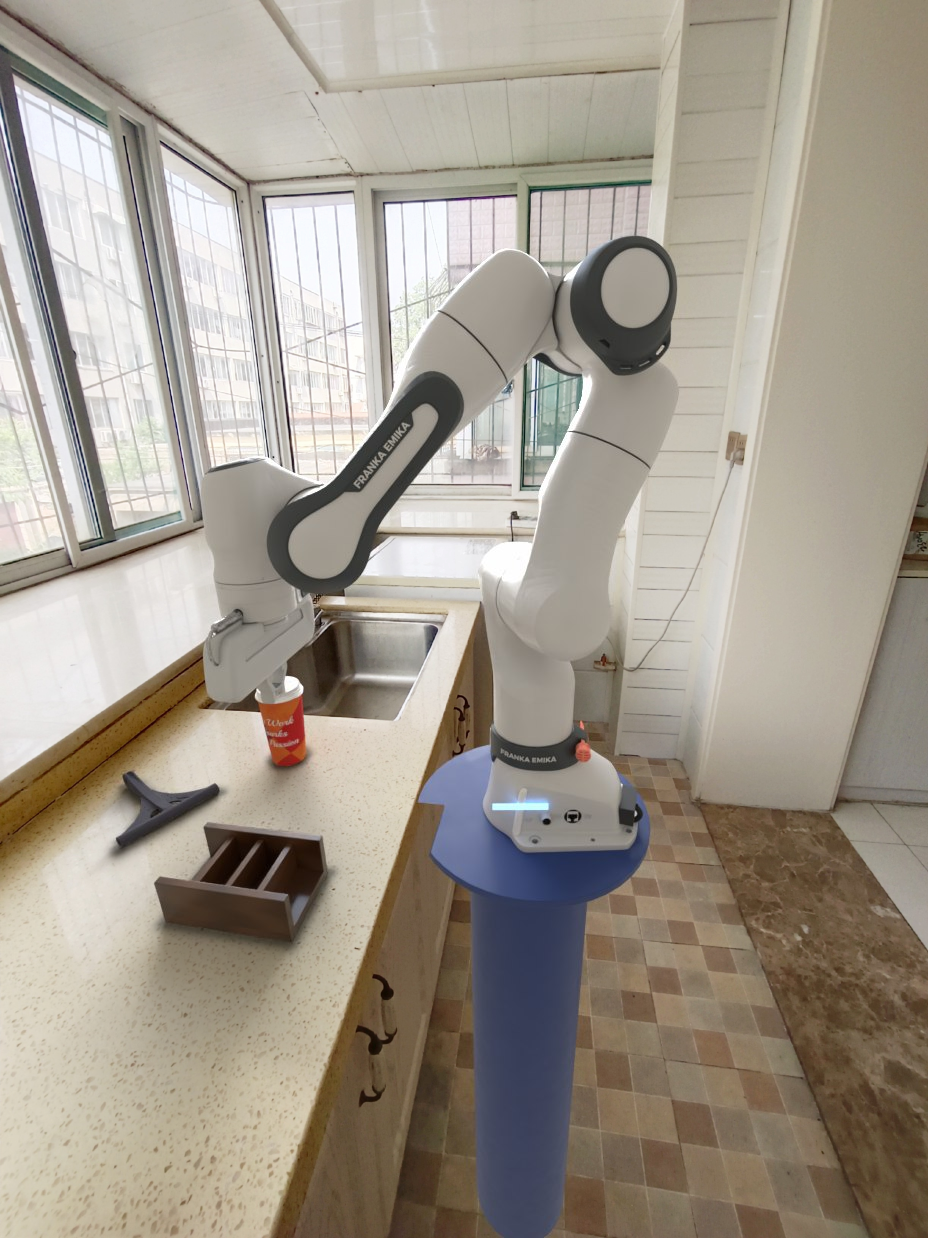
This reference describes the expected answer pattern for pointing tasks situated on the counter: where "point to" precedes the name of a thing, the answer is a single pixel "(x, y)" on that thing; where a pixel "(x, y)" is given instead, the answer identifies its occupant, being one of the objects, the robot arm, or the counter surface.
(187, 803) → the bracket
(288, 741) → the paper cup
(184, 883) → the rack
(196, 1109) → the counter surface
